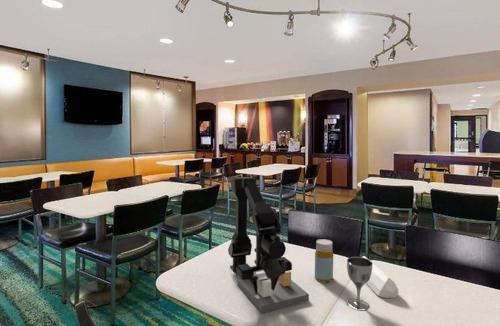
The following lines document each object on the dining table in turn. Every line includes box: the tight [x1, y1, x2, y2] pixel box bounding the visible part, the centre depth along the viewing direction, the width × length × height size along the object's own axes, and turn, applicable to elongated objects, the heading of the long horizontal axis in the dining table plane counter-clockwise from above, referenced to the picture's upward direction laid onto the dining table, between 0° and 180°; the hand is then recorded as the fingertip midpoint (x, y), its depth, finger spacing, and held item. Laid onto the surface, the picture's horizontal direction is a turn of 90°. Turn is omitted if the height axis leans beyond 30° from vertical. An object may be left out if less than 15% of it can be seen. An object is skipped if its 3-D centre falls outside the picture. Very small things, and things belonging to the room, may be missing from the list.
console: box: [236, 272, 310, 314], centre depth 112 cm, size 21×18×3 cm
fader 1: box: [258, 276, 271, 297], centre depth 106 cm, size 4×3×5 cm
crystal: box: [362, 255, 399, 299], centre depth 119 cm, size 7×7×24 cm
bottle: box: [314, 238, 334, 283], centre depth 122 cm, size 7×7×15 cm
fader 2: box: [278, 270, 292, 287], centre depth 113 cm, size 4×3×5 cm
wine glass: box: [346, 256, 373, 311], centre depth 104 cm, size 8×8×15 cm
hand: (264, 291), depth 106 cm, fingers open, 6 cm apart
